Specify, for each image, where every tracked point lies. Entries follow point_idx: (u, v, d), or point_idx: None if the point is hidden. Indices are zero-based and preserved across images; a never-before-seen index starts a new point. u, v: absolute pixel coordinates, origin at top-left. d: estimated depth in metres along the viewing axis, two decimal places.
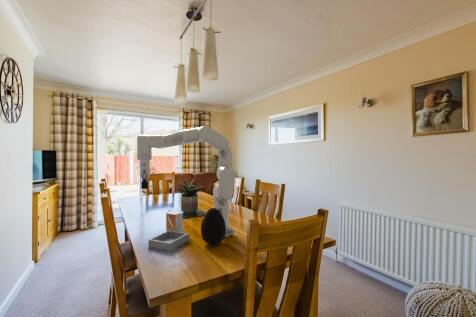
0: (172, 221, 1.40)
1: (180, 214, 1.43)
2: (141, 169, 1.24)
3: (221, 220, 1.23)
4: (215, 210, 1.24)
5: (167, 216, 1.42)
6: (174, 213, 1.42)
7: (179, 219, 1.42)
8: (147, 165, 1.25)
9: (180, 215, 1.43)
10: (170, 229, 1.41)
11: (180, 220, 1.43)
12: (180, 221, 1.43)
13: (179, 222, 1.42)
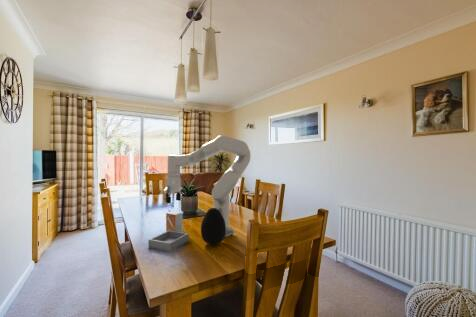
0: (172, 221, 1.40)
1: (180, 214, 1.43)
2: None
3: (221, 220, 1.23)
4: (215, 210, 1.24)
5: (167, 216, 1.42)
6: (174, 213, 1.42)
7: (179, 219, 1.42)
8: None
9: (180, 215, 1.43)
10: (170, 229, 1.41)
11: (180, 220, 1.43)
12: (180, 221, 1.43)
13: (179, 222, 1.42)
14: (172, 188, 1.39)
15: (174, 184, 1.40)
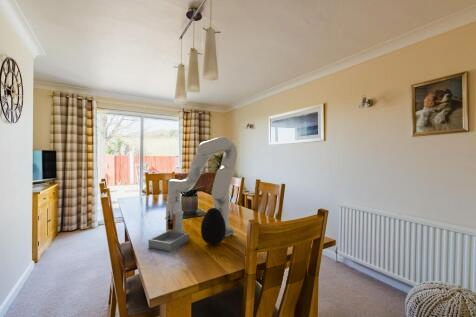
0: (172, 221, 1.40)
1: (180, 214, 1.43)
2: None
3: (221, 220, 1.23)
4: (215, 210, 1.24)
5: None
6: None
7: (179, 219, 1.42)
8: None
9: (180, 215, 1.43)
10: None
11: (180, 220, 1.43)
12: (180, 221, 1.43)
13: (179, 222, 1.42)
14: (173, 213, 1.39)
15: (174, 209, 1.41)
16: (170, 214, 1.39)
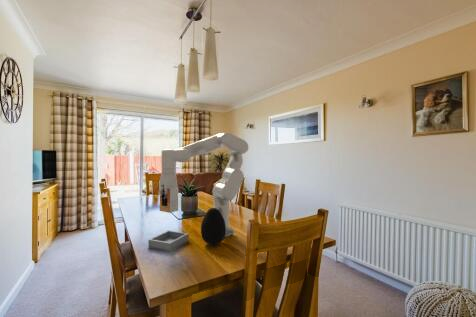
0: (167, 196, 1.22)
1: (176, 189, 1.24)
2: None
3: (221, 220, 1.23)
4: (215, 210, 1.24)
5: None
6: None
7: (174, 194, 1.24)
8: None
9: (176, 190, 1.25)
10: (164, 206, 1.23)
11: (176, 196, 1.24)
12: (176, 197, 1.24)
13: (174, 198, 1.24)
14: (167, 187, 1.21)
15: (169, 183, 1.22)
16: (164, 188, 1.20)
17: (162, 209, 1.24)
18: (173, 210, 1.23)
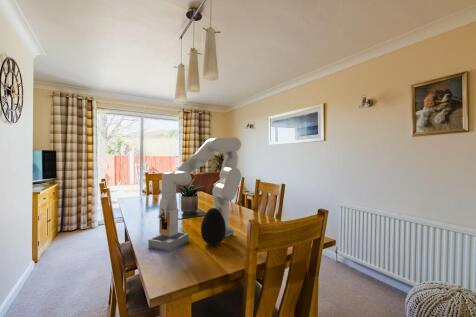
0: (167, 220, 1.22)
1: (175, 212, 1.24)
2: None
3: (221, 220, 1.23)
4: (215, 210, 1.24)
5: None
6: None
7: (174, 217, 1.24)
8: None
9: (176, 213, 1.25)
10: None
11: (175, 219, 1.25)
12: (175, 220, 1.25)
13: (174, 221, 1.24)
14: (167, 211, 1.21)
15: (169, 206, 1.22)
16: (164, 212, 1.20)
17: (161, 232, 1.24)
18: (173, 233, 1.23)
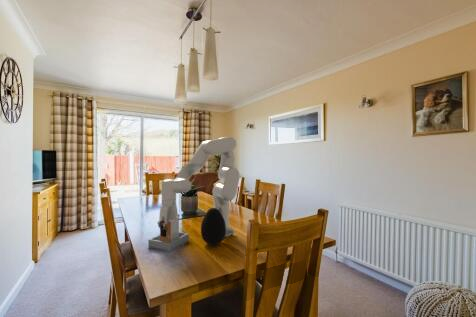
0: (168, 229, 1.22)
1: (176, 221, 1.25)
2: None
3: (221, 220, 1.23)
4: (215, 210, 1.24)
5: None
6: None
7: (175, 226, 1.24)
8: None
9: (177, 221, 1.25)
10: (165, 238, 1.23)
11: (176, 227, 1.25)
12: (176, 229, 1.25)
13: (175, 230, 1.24)
14: (167, 219, 1.21)
15: (169, 214, 1.22)
16: (164, 219, 1.20)
17: None
18: None
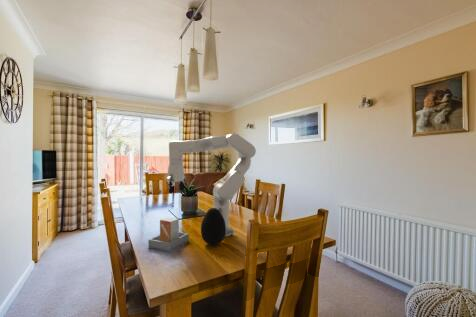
0: (167, 229, 1.22)
1: (176, 221, 1.25)
2: None
3: (221, 220, 1.23)
4: (215, 210, 1.24)
5: (161, 223, 1.24)
6: (169, 220, 1.24)
7: (175, 227, 1.24)
8: None
9: (176, 222, 1.25)
10: (165, 238, 1.23)
11: (176, 228, 1.25)
12: (176, 229, 1.25)
13: (175, 230, 1.24)
14: (175, 176, 1.29)
15: (177, 172, 1.31)
16: (173, 177, 1.29)
17: None
18: None
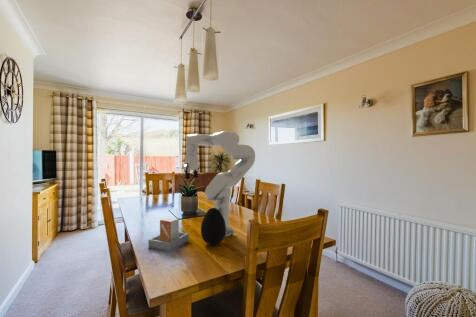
0: (167, 229, 1.22)
1: (176, 221, 1.25)
2: None
3: (221, 220, 1.23)
4: (215, 210, 1.24)
5: (161, 223, 1.24)
6: (169, 220, 1.24)
7: (175, 227, 1.24)
8: None
9: (176, 222, 1.25)
10: (165, 238, 1.23)
11: (176, 228, 1.25)
12: (176, 229, 1.25)
13: (175, 230, 1.24)
14: (191, 165, 1.52)
15: (192, 161, 1.53)
16: (188, 165, 1.51)
17: None
18: None
